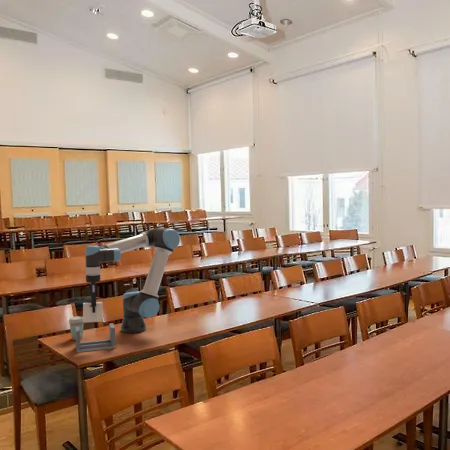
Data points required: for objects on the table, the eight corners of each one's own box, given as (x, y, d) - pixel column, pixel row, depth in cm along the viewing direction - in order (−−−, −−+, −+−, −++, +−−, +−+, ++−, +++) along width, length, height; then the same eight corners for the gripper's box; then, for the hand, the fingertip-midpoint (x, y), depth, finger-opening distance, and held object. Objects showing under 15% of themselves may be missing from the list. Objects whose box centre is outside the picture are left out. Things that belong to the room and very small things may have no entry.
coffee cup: (80, 341, 272) (79, 320, 271) (66, 340, 274) (65, 319, 273) (87, 336, 281) (86, 316, 280) (74, 335, 282) (73, 315, 281)
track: (113, 342, 268) (113, 323, 267) (115, 348, 259) (114, 327, 258) (76, 346, 262) (75, 326, 261) (76, 352, 252) (75, 331, 252)
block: (102, 320, 263) (102, 302, 263) (102, 321, 260) (102, 303, 260) (83, 321, 260) (83, 302, 260) (83, 322, 257) (83, 304, 257)
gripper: (85, 272, 266) (86, 314, 267) (86, 277, 250) (86, 321, 252) (99, 272, 268) (100, 313, 269) (100, 276, 253) (101, 320, 254)
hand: (93, 317), depth 260 cm, fingers closed on block, 3 cm apart
